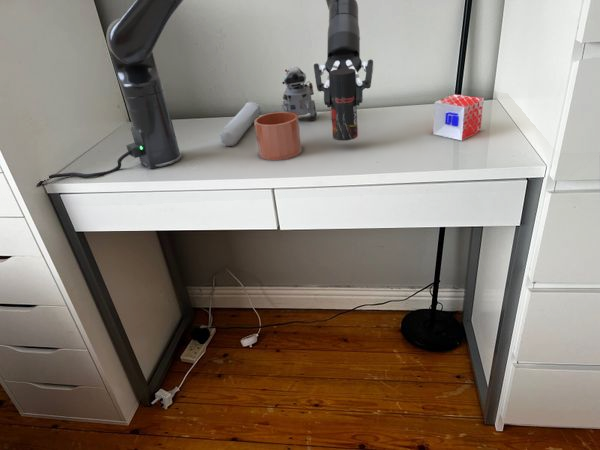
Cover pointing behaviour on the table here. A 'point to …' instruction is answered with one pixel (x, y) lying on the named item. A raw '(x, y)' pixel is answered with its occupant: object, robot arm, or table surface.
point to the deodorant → (343, 104)
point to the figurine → (298, 94)
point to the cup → (278, 135)
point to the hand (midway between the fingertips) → (343, 104)
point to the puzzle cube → (458, 116)
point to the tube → (240, 124)
